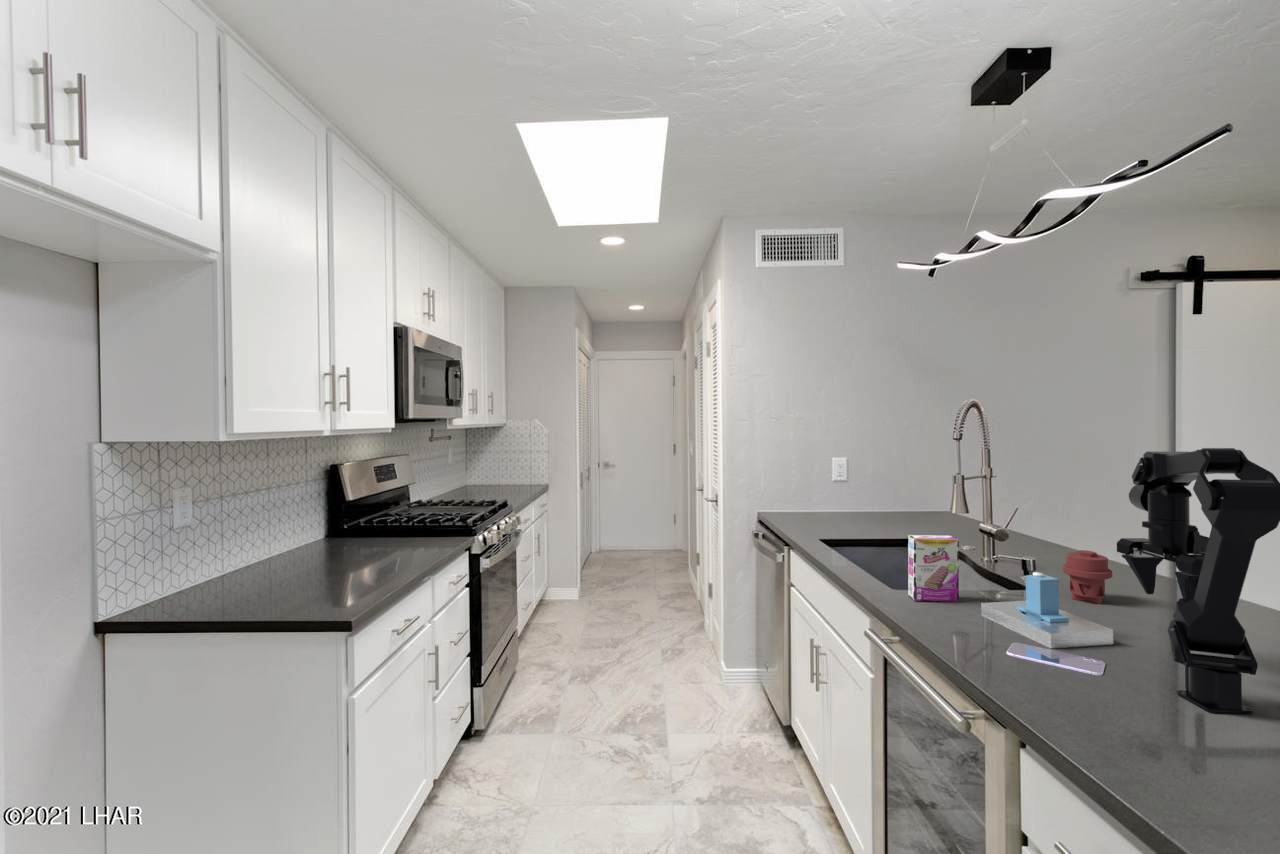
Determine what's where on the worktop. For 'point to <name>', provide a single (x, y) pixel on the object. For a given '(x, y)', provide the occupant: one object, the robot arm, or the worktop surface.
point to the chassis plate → (1048, 626)
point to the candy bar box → (933, 568)
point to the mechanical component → (1087, 575)
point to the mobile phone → (1057, 658)
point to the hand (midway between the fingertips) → (1169, 601)
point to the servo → (1042, 598)
